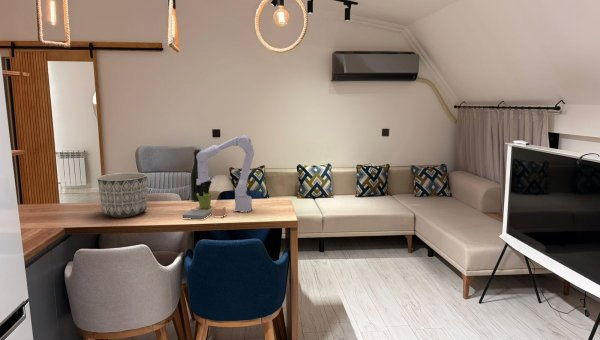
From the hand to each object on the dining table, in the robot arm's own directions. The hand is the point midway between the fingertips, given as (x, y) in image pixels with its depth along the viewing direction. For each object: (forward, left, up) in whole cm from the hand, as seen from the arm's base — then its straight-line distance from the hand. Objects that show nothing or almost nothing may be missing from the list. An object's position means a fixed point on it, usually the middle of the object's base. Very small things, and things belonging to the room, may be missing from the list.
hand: (203, 194), depth 256 cm
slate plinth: (-1, +12, -10) cm, 16 cm away
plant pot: (+3, -8, -10) cm, 13 cm away
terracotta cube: (-13, +9, -10) cm, 19 cm away
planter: (+42, +14, -10) cm, 45 cm away
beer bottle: (+15, -27, -10) cm, 32 cm away
